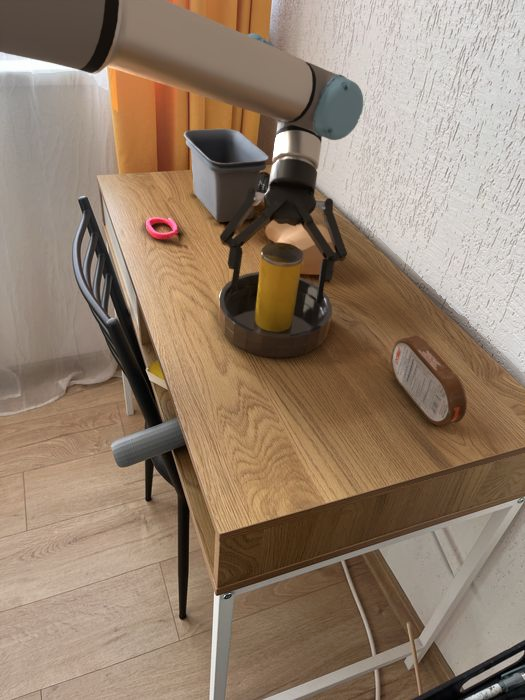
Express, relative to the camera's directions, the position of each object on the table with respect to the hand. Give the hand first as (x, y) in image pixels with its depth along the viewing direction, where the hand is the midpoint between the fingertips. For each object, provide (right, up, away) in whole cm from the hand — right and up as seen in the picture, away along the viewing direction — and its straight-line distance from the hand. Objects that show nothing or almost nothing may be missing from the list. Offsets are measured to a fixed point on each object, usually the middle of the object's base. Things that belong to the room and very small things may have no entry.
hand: (276, 295), depth 83 cm
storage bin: (-11, +25, +40) cm, 48 cm away
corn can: (0, -4, +6) cm, 7 cm away
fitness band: (-23, +16, +27) cm, 40 cm away
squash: (+4, +10, +24) cm, 26 cm away
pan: (0, -4, +6) cm, 7 cm away
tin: (+21, -16, -5) cm, 27 cm away
